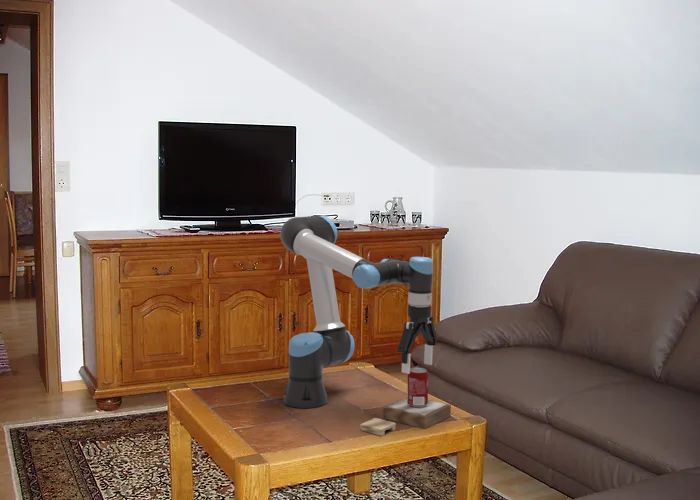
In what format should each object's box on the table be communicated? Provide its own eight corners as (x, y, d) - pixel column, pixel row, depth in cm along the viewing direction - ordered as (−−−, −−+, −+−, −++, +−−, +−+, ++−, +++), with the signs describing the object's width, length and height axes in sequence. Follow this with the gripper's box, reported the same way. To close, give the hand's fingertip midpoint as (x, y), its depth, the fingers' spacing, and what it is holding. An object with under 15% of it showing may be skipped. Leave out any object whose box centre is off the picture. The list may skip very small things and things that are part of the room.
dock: (383, 418, 252) (383, 406, 251) (409, 406, 264) (410, 394, 264) (424, 428, 242) (425, 416, 242) (450, 415, 255) (450, 404, 254)
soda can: (426, 409, 249) (427, 373, 247) (405, 407, 250) (406, 371, 249) (428, 402, 255) (429, 367, 254) (408, 401, 257) (409, 366, 255)
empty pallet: (360, 430, 240) (360, 424, 240) (375, 423, 246) (375, 417, 246) (381, 436, 235) (381, 429, 235) (395, 429, 242) (395, 423, 241)
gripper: (408, 312, 237) (405, 379, 239) (449, 301, 256) (446, 362, 259) (388, 308, 241) (385, 374, 244) (429, 297, 261) (427, 358, 264)
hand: (417, 368), depth 252 cm, fingers open, 13 cm apart
